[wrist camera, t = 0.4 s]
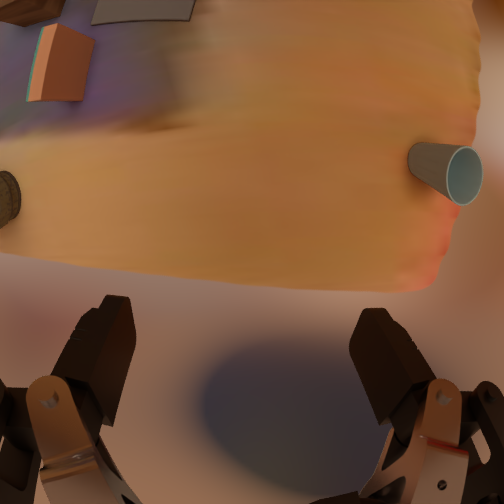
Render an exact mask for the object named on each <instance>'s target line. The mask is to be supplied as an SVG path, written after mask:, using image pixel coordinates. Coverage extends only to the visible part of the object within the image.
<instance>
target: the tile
mask: <svg viewBox="0 0 504 504" xmlns="http://www.w3.org/2000/svg"><path fill="white" fill-rule="evenodd" d="M94 43H95V40H94V39H92V38H90V37H87V36H85V35H83V34H81V33H79V32H77V31H75V30H72V29H70V28H68V27H66V26H63V25H61V24H59V23H57V24H53V25H49V26H45V27H42V29H41V32H40V36H39V39H38V43H37V47H36V51H35V55H34V59H33V63H32V68H31V73H30V78H29V84H28V90H27V97H26V102H41V101H65V102H70V101H83V96H84V90H85V84H86V79H87V74H88V69H89V64H90V60H91V55H92V51H93V47H94Z"/></svg>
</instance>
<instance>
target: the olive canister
mask: <svg viewBox="0 0 504 504" xmlns="http://www.w3.org/2000/svg"><path fill="white" fill-rule="evenodd" d="M20 207H21V193H20V188H19V185H18V183H17V181H16V179H15V177H14V176H13V175H12V174H11V173H10V172H7V171H0V228H2V227H3V226H4V225H6V224H7V223H8V222H9V221H10V220H12V219H13V218H15V217H16V216H17V214H18V213H19V210H20Z"/></svg>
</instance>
